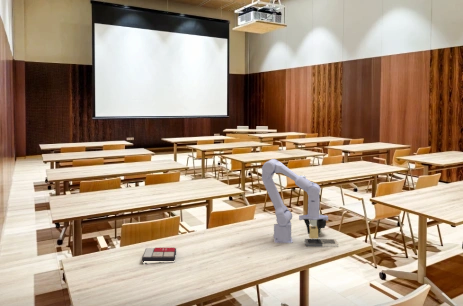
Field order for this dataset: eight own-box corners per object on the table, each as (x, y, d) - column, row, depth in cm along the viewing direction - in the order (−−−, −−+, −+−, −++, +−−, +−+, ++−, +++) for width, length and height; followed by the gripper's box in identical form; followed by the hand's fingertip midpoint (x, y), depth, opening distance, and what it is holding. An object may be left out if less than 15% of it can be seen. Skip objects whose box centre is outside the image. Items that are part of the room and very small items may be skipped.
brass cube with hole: (309, 238, 189) (309, 228, 189) (308, 235, 194) (308, 225, 193) (318, 238, 189) (318, 228, 188) (316, 235, 193) (316, 225, 192)
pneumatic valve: (318, 238, 200) (318, 216, 198) (308, 230, 211) (308, 210, 209) (327, 236, 201) (327, 215, 200) (317, 229, 213) (317, 209, 211)
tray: (306, 247, 189) (306, 244, 189) (304, 241, 196) (304, 238, 195) (338, 247, 188) (338, 244, 187) (335, 241, 194) (335, 238, 194)
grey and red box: (174, 256, 174) (142, 256, 173) (174, 264, 175) (142, 264, 174) (176, 246, 185) (145, 246, 184) (176, 254, 186) (145, 254, 185)
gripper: (300, 210, 186) (299, 235, 188) (329, 210, 184) (329, 236, 187) (298, 205, 192) (298, 230, 195) (327, 206, 191) (326, 231, 193)
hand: (313, 233), depth 191 cm, fingers closed on brass cube with hole, 4 cm apart
